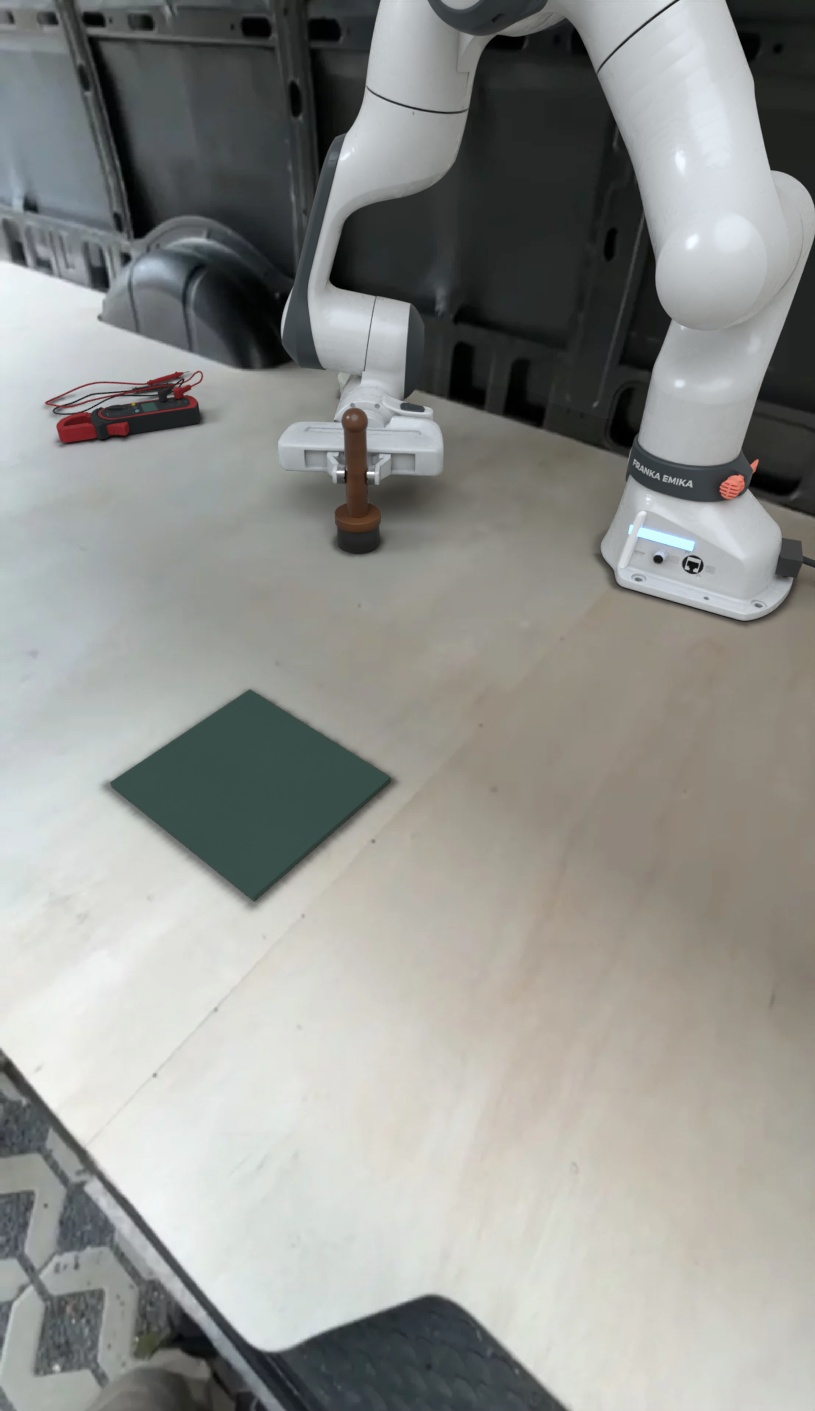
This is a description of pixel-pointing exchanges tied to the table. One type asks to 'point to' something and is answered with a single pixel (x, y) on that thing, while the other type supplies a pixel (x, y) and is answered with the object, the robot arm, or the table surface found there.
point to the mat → (251, 790)
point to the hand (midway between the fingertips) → (355, 478)
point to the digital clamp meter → (131, 411)
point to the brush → (356, 490)
